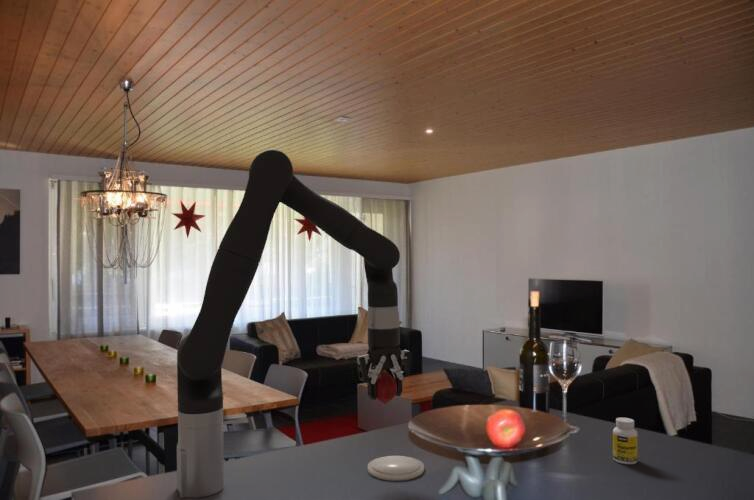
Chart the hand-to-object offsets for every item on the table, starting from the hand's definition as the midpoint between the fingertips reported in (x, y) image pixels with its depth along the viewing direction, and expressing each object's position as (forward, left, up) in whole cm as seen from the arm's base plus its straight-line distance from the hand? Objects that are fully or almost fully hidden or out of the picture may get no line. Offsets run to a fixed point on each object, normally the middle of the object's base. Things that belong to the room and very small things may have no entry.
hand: (385, 397), depth 137 cm
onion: (0, 0, -2) cm, 2 cm away
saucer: (+1, -3, -16) cm, 16 cm away
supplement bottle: (+52, -23, -16) cm, 59 cm away
